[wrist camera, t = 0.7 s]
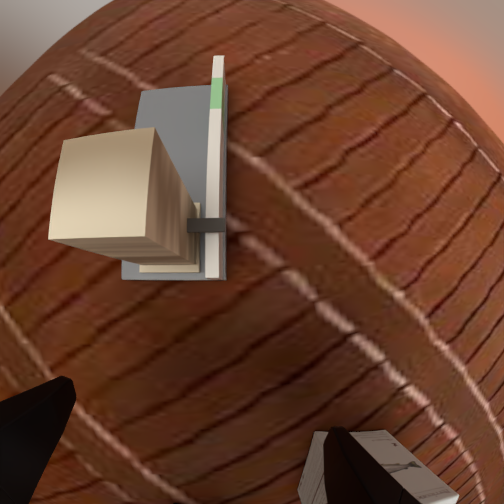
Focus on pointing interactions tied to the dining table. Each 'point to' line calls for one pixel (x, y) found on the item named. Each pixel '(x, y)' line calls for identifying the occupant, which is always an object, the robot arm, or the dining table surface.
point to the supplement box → (389, 457)
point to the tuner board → (193, 160)
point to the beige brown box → (127, 203)
